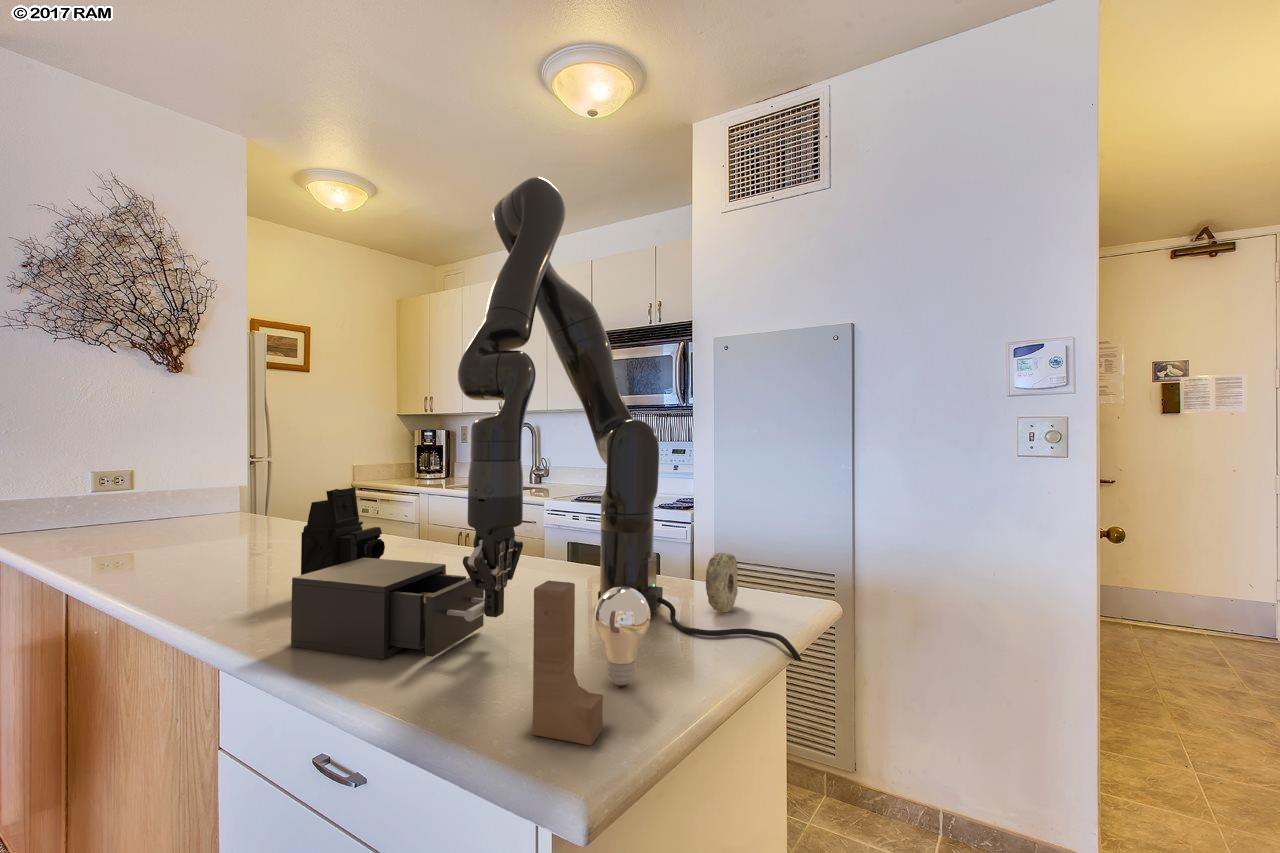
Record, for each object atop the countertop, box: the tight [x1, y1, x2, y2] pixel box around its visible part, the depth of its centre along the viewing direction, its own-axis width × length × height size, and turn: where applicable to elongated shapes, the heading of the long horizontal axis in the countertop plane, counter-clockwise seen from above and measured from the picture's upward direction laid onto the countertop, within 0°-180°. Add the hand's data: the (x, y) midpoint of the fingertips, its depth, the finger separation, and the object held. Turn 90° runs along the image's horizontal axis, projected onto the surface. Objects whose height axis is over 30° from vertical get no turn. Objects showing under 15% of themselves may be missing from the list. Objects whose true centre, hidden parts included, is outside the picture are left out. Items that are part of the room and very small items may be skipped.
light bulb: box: [593, 586, 652, 688], centre depth 69 cm, size 7×7×12 cm
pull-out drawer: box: [388, 573, 485, 658], centre depth 82 cm, size 19×13×8 cm, turn 74°
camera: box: [300, 486, 386, 575], centre depth 105 cm, size 10×14×20 cm
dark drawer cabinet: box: [290, 558, 447, 660], centre depth 85 cm, size 16×14×10 cm
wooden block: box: [531, 580, 604, 746], centre depth 58 cm, size 7×3×15 cm, turn 73°
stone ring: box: [705, 552, 739, 613], centre depth 99 cm, size 10×4×10 cm, turn 150°
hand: (494, 615), depth 79 cm, fingers closed
